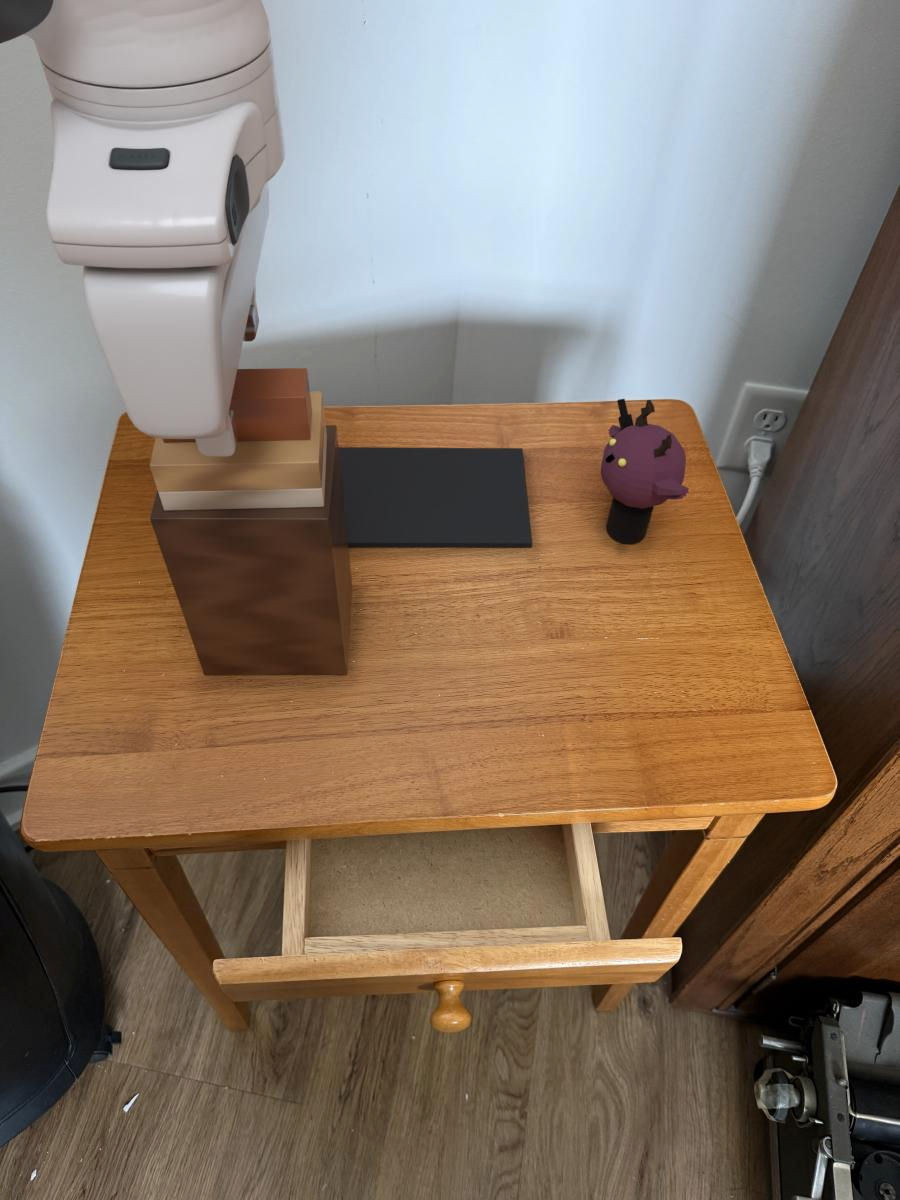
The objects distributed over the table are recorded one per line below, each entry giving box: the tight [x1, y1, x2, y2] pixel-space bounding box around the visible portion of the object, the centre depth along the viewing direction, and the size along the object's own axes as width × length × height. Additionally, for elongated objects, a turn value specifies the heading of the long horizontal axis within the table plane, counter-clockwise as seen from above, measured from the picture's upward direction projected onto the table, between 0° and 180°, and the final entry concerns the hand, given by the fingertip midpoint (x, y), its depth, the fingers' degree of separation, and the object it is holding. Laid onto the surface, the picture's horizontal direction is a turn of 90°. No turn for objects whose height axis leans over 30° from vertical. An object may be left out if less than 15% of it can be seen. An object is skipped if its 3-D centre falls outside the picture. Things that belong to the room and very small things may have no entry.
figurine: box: [600, 398, 689, 545], centre depth 67 cm, size 8×8×12 cm
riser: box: [149, 424, 353, 676], centre depth 59 cm, size 10×8×16 cm
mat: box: [339, 446, 533, 549], centre depth 73 cm, size 20×11×1 cm, turn 91°
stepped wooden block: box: [149, 367, 327, 511], centre depth 50 cm, size 9×6×6 cm, turn 93°
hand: (232, 387), depth 48 cm, fingers open, 8 cm apart
